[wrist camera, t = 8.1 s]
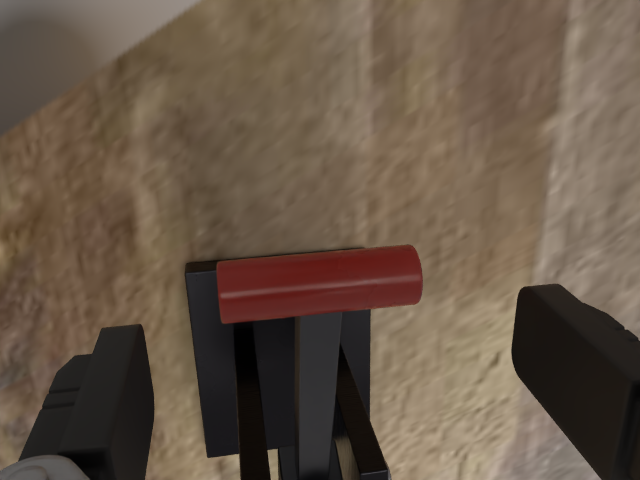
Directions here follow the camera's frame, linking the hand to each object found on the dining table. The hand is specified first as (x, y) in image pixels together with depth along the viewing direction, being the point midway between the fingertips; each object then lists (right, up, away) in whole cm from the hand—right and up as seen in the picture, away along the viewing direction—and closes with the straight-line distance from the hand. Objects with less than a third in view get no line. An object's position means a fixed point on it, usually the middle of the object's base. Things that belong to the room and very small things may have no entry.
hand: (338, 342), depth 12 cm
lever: (-1, -3, +7) cm, 8 cm away
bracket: (-2, -4, +19) cm, 19 cm away
